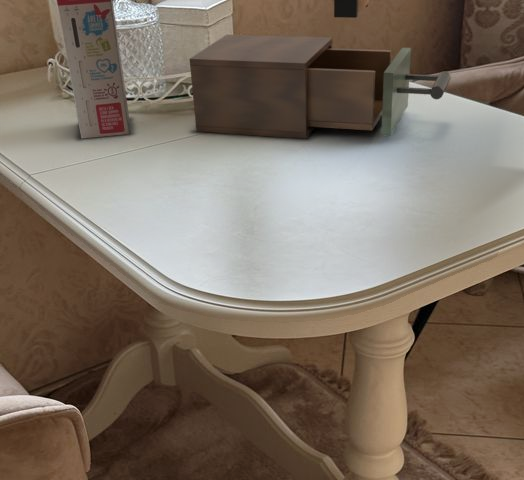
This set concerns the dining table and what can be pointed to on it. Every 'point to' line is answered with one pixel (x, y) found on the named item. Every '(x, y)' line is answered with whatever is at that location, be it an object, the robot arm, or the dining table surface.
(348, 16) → the robot arm
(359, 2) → the egg
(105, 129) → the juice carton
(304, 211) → the dining table surface
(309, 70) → the drawer
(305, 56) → the cabinet
